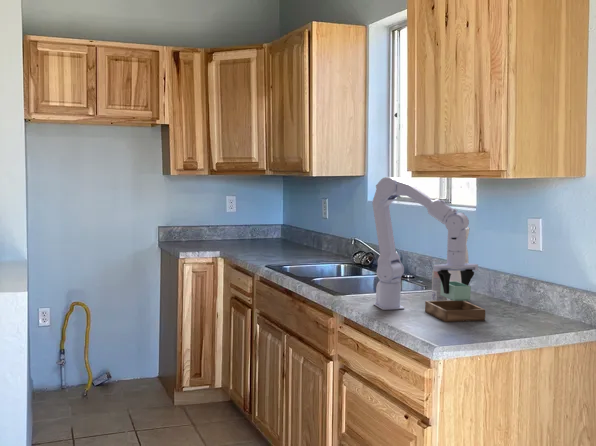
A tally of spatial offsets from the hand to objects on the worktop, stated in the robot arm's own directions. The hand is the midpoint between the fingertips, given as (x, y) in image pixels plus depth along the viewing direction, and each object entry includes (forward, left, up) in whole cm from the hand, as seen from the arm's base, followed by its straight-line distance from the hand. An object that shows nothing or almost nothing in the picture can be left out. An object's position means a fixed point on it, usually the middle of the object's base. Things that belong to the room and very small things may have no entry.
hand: (455, 293), depth 220 cm
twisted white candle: (-27, +14, -8) cm, 31 cm away
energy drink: (-20, +4, -8) cm, 22 cm away
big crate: (0, 0, -8) cm, 8 cm away
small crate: (0, 0, -2) cm, 2 cm away
